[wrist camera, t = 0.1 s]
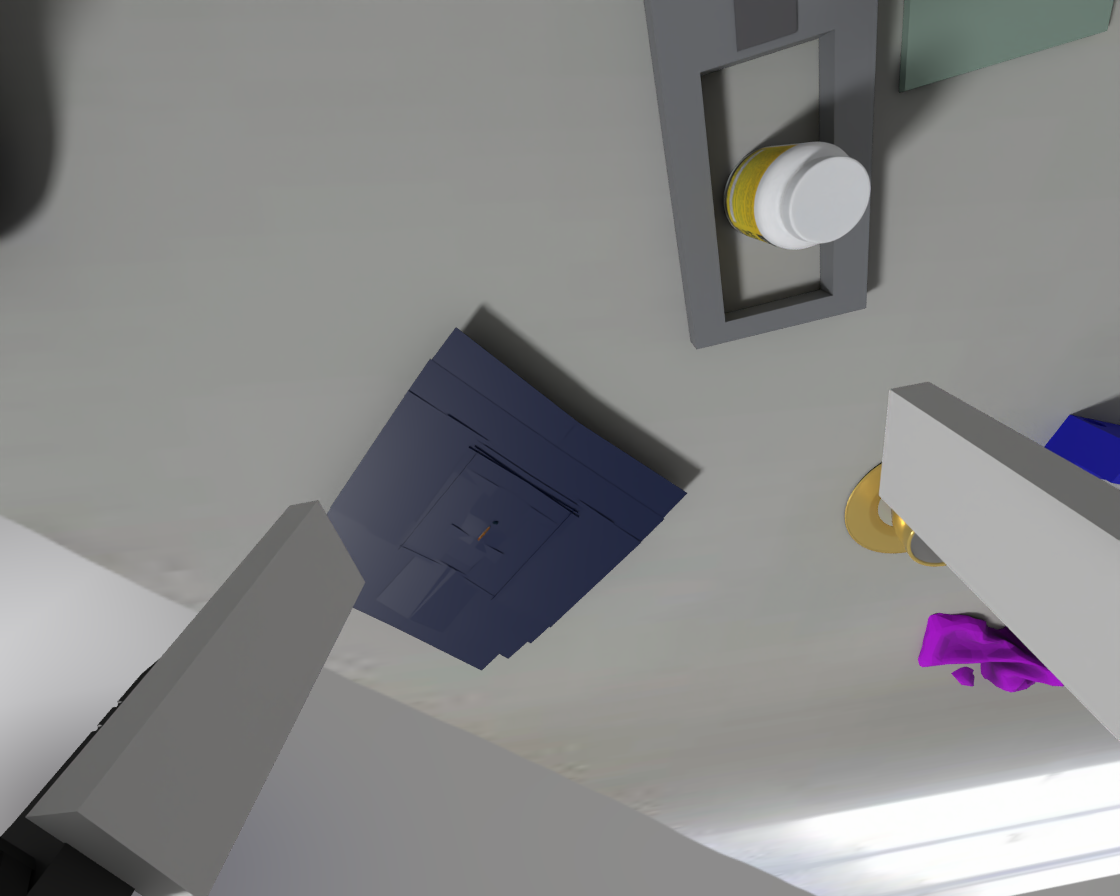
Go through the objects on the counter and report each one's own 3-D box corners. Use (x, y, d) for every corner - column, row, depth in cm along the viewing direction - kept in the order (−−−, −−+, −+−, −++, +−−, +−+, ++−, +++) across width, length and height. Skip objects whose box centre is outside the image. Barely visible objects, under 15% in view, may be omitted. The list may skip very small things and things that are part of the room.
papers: (297, 555, 49) (279, 581, 46) (458, 316, 38) (450, 327, 35) (498, 656, 56) (495, 684, 53) (682, 478, 45) (692, 500, 42)
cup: (818, 498, 45) (847, 535, 41) (947, 418, 41) (996, 449, 36) (879, 569, 49) (911, 610, 45) (1001, 503, 45) (1051, 541, 41)
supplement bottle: (718, 240, 34) (768, 261, 26) (724, 150, 32) (782, 141, 23) (796, 233, 34) (872, 252, 26) (809, 142, 32) (899, 130, 23)
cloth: (884, 633, 54) (919, 683, 49) (1061, 541, 48) (1124, 587, 42) (971, 718, 62) (1009, 770, 56) (1134, 649, 55) (1195, 700, 50)
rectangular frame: (611, -236, 24) (615, -279, 22) (867, -343, 22) (901, -402, 20) (690, 341, 38) (698, 351, 36) (851, 301, 36) (870, 310, 34)
